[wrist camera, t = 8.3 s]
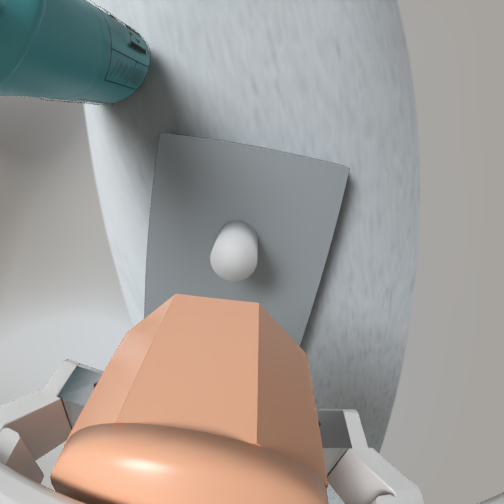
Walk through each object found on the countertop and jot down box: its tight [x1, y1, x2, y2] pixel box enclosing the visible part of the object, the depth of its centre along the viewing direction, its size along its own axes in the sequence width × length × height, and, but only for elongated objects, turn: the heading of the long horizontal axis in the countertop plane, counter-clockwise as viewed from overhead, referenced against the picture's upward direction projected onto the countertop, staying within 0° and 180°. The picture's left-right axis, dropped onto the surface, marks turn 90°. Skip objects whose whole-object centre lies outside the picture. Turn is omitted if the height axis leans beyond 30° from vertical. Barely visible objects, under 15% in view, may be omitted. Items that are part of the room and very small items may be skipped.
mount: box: [144, 133, 350, 346], centre depth 25 cm, size 24×14×6 cm, turn 169°
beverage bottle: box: [0, 0, 150, 106], centre depth 12 cm, size 6×7×20 cm
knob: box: [51, 294, 328, 504], centre depth 8 cm, size 6×6×6 cm
